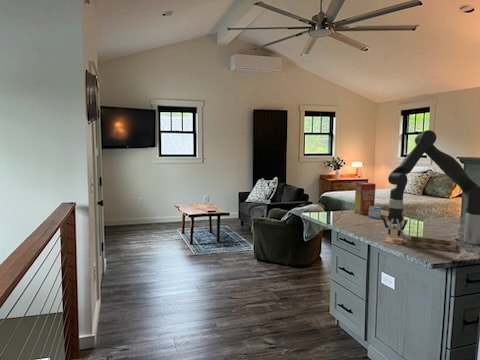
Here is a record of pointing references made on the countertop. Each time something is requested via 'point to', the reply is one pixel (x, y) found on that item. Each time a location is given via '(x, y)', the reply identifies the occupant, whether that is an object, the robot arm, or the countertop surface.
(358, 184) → the food packaging
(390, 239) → the mat
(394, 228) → the lever cap
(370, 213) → the medicine box
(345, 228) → the countertop surface
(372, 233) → the countertop surface
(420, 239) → the open wooden frame
